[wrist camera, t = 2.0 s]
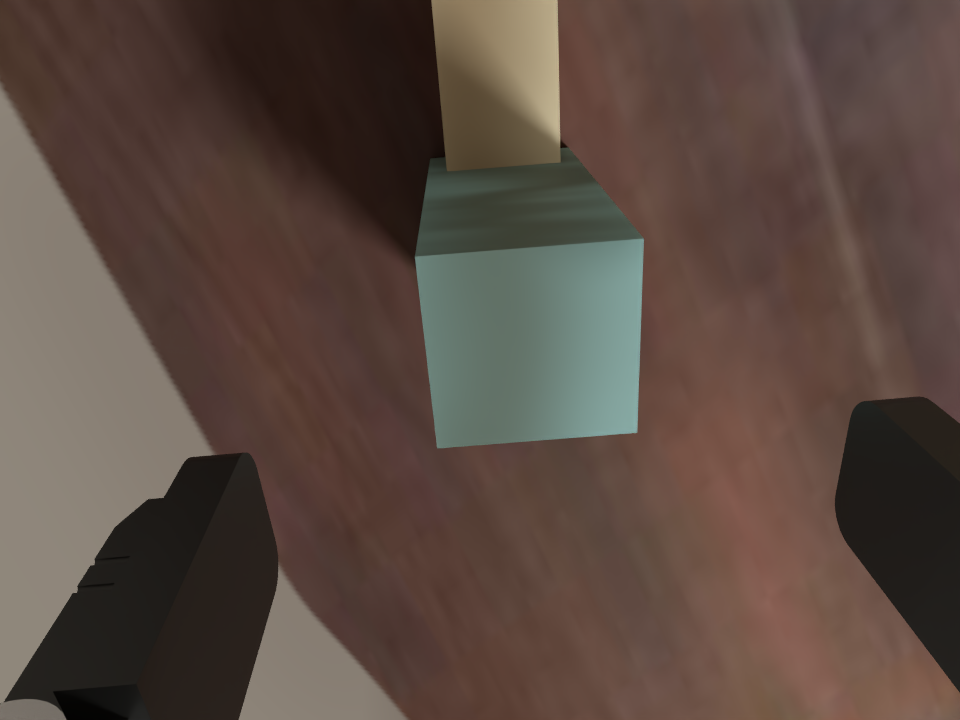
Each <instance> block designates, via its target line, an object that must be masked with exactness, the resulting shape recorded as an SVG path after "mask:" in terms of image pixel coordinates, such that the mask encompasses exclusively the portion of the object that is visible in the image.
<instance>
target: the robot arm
mask: <svg viewBox="0 0 960 720" xmlns="http://www.w3.org/2000/svg"><path fill="white" fill-rule="evenodd" d="M835 511H836V517H837V521H838V525H839V528H840V531H841V533H842V535H843V537H844V539H845V541H846V543H847V544H848V546H849V547H850V548H851V549H852V551H853V552H854V553H855V555H856V556H857V557H858V559H859V560H860V561H861V563H862V564H863V565H864V567H865V568H866V569H867V571H868V572H869V573H870V575H871V576H872V577H873V579H874V580H875V581H876V583H877V584H878V585H879V586H880V588H881V589H882V590H883V592H884V593H885V594H886V596H887V597H888V598H889V600H890V601H891V602H892V604H893V605H894V606H895V608H896V609H897V610H898V612H899V613H900V614H901V616H902V617H903V618H904V619H905V621H906V622H907V623H908V625H909V626H910V627H911V629H912V630H913V631H914V633H915V634H916V635H917V637H918V638H919V639H920V641H921V642H922V643H923V645H924V646H925V647H926V649H927V650H928V651H929V652H930V654H931V655H932V656H933V658H934V659H935V660H936V662H937V663H938V664H939V666H940V667H941V668H942V670H943V671H944V672H945V674H946V675H947V676H948V678H949V679H950V680H951V682H952V683H953V684H954V686H955V687H956V688H957V689H958V691H959V692H960V423H958V422H957V421H956V420H955V419H953V418H952V417H951V416H950V415H948V414H947V413H946V412H945V411H943V410H942V409H941V408H940V407H938V406H937V405H936V404H935V403H933V402H932V401H930V400H929V399H927V398H924V397H908V398H897V399H885V400H873V401H864V402H861V403H859V404H858V405H857V406H856V407H855V408H854V410H853V412H852V414H851V418H850V422H849V427H848V433H847V438H846V443H845V448H844V453H843V459H842V464H841V469H840V474H839V480H838V485H837V490H836V496H835ZM277 578H278V553H277V546H276V541H275V537H274V533H273V529H272V525H271V521H270V518H269V514H268V510H267V506H266V502H265V498H264V494H263V490H262V487H261V483H260V479H259V475H258V471H257V467H256V464H255V462H254V460H253V458H252V456H251V455H250V454H249V453H235V454H223V455H212V456H200V457H190V458H188V459H187V460H186V461H185V462H184V464H183V465H182V467H181V469H180V470H179V472H178V474H177V476H176V477H175V479H174V481H173V483H172V484H171V486H170V488H169V490H168V492H167V493H166V495H165V496H164V498H158V499H148V500H147V501H146V502H144V503H143V504H142V505H141V506H140V507H138V508H137V509H136V510H135V511H134V512H132V513H131V514H130V515H129V516H128V517H127V518H125V519H124V520H123V521H122V522H121V523H119V524H118V525H117V526H116V527H115V528H114V530H113V531H112V533H111V534H110V536H109V537H108V539H107V540H106V542H105V544H104V545H103V547H102V548H101V550H100V551H99V553H98V555H97V556H96V558H95V565H93V566H90V567H89V569H88V570H87V572H86V574H85V575H84V577H83V578H82V580H81V581H80V583H79V584H78V586H77V587H78V591H77V593H73V594H72V595H71V597H70V599H69V600H68V602H67V603H66V605H65V606H64V608H63V610H62V611H61V613H60V614H59V616H58V618H57V619H56V621H55V622H54V624H53V625H52V627H51V628H50V630H49V632H48V633H47V635H46V636H45V638H44V639H43V641H42V643H41V644H40V646H39V648H38V649H37V651H36V652H35V654H34V655H33V657H32V658H31V660H30V661H29V663H28V665H27V667H26V668H25V669H24V671H23V672H22V674H21V676H20V677H19V679H18V681H17V682H16V684H15V685H14V687H13V688H12V690H11V691H10V693H9V695H8V696H7V698H6V699H5V701H4V702H3V703H0V720H238V719H239V716H240V713H241V709H242V706H243V702H244V699H245V695H246V692H247V688H248V685H249V681H250V678H251V675H252V671H253V668H254V664H255V661H256V657H257V654H258V650H259V647H260V643H261V640H262V636H263V633H264V630H265V626H266V622H267V619H268V616H269V612H270V609H271V605H272V602H273V599H274V595H275V591H276V586H277Z"/></svg>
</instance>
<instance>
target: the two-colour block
mask: <svg viewBox="0 0 960 720" xmlns="http://www.w3.org/2000/svg"><path fill="white" fill-rule="evenodd" d="M431 2H432V13H433V24H434V35H435V46H436V57H437V68H438V79H439V90H440V101H441V112H442V123H443V134H444V145H445V156H446V157H442V158H430V163H429V170H428V176H427V183H426V189H425V195H424V202H423V208H422V215H421V221H420V227H419V234H418V240H417V247H416V253H415V262H416V270H417V279H418V287H419V296H420V304H421V313H422V321H423V330H424V338H425V347H426V355H427V364H428V372H429V381H430V389H431V398H432V407H433V415H434V424H435V432H436V441H437V448H448V447H460V446H473V445H486V444H499V443H511V442H524V441H537V440H550V439H562V438H575V437H588V436H601V435H613V434H626V433H637V420H638V391H639V362H640V333H641V303H642V274H643V245H644V238H643V237H642V236H641V235H640V234H639V232H638V231H637V230H636V229H635V227H634V226H633V225H632V224H631V223H630V221H629V220H628V219H627V218H626V217H625V215H624V214H623V213H622V212H621V211H620V209H619V208H618V207H617V206H616V204H615V203H614V202H613V201H612V200H611V198H610V197H609V196H608V195H607V194H606V192H605V191H604V190H603V189H602V188H601V186H600V185H599V184H598V183H597V181H596V180H595V179H594V178H593V177H592V175H591V174H590V173H589V172H588V171H587V169H586V168H585V167H584V166H583V165H582V163H581V162H580V161H579V160H578V159H577V157H576V156H575V155H574V154H573V152H572V151H571V150H570V149H569V148H560V107H559V56H558V4H557V0H431Z"/></svg>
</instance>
